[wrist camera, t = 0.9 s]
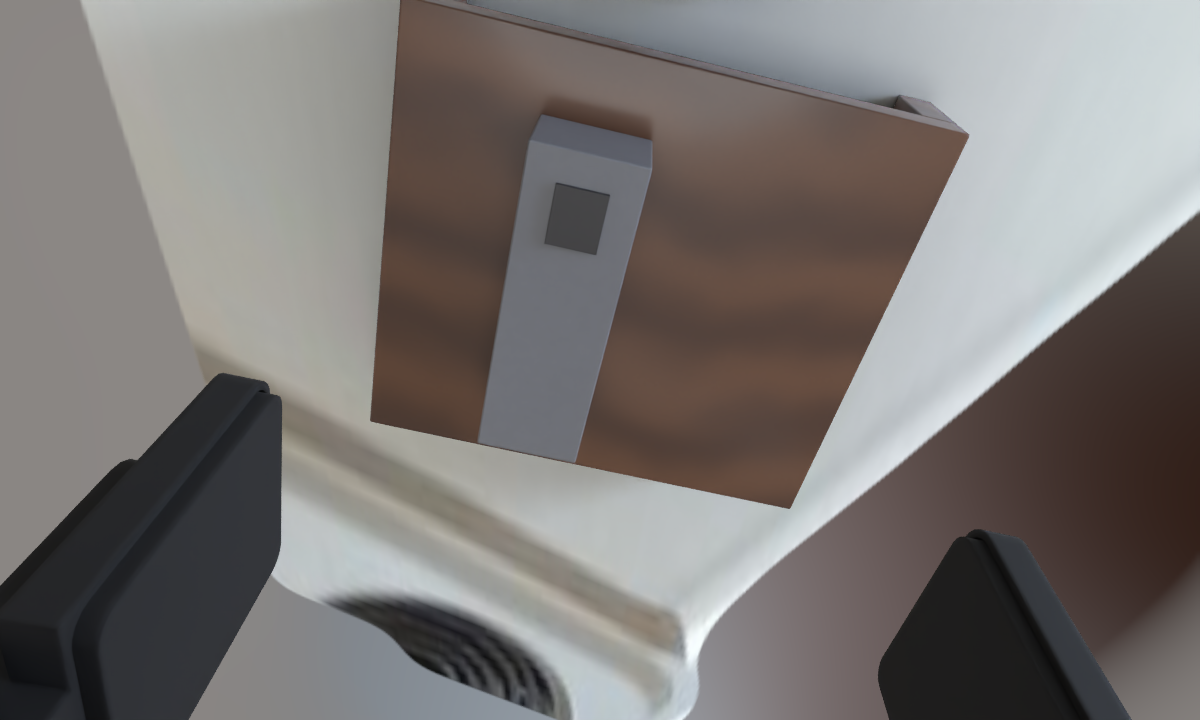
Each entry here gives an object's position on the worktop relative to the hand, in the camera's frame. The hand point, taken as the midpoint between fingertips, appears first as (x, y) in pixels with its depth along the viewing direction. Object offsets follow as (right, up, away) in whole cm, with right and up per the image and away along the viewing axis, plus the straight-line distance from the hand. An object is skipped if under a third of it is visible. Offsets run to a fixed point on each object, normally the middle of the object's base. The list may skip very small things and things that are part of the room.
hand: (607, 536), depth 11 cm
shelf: (+2, +8, +28) cm, 29 cm away
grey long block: (-2, +6, +23) cm, 24 cm away
